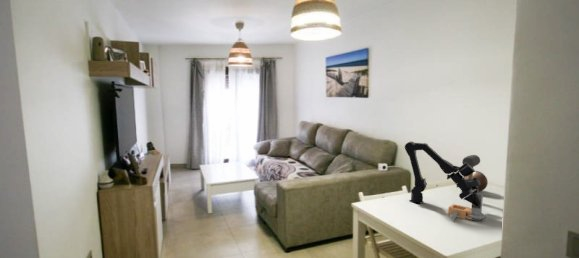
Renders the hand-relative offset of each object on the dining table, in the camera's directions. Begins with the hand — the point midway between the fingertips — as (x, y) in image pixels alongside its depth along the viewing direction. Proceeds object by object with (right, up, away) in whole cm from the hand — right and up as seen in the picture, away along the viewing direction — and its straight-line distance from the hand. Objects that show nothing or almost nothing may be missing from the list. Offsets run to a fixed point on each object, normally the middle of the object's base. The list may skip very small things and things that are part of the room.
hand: (479, 203), depth 177 cm
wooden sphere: (+23, -2, +43) cm, 49 cm away
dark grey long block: (-1, -6, +2) cm, 7 cm away
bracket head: (-12, -7, -5) cm, 15 cm away
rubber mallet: (+8, -4, +25) cm, 27 cm away
